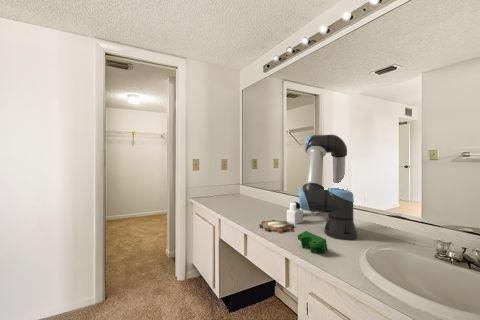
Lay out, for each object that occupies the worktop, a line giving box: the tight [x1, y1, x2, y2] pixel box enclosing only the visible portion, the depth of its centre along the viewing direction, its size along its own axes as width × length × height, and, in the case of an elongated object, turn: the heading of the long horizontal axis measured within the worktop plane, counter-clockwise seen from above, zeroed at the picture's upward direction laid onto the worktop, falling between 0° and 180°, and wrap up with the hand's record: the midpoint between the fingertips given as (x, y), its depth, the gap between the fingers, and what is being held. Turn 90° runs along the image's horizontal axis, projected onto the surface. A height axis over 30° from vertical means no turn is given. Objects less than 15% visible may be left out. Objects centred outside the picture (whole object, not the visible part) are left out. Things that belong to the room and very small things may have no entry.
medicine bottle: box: [286, 201, 304, 225], centre depth 129 cm, size 7×7×12 cm
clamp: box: [296, 230, 329, 254], centre depth 88 cm, size 12×6×9 cm, turn 20°
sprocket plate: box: [258, 219, 295, 234], centre depth 118 cm, size 19×19×2 cm
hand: (300, 209), depth 134 cm, fingers open, 13 cm apart
